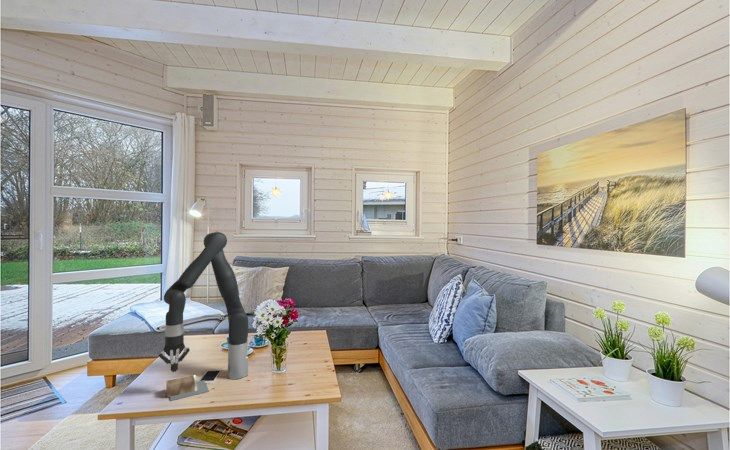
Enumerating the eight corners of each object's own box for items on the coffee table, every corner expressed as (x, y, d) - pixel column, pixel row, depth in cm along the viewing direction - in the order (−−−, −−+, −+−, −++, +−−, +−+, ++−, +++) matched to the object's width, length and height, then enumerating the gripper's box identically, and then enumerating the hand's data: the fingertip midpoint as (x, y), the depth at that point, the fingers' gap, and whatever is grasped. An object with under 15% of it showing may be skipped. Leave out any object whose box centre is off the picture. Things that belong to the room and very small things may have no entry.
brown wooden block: (166, 391, 154) (195, 385, 161) (167, 397, 149) (197, 390, 156) (166, 380, 154) (195, 374, 161) (167, 386, 149) (197, 379, 156)
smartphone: (197, 385, 163) (197, 383, 163) (208, 371, 178) (208, 369, 178) (212, 384, 164) (212, 382, 164) (222, 370, 179) (222, 368, 179)
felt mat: (204, 380, 166) (204, 379, 166) (208, 391, 155) (208, 390, 155) (168, 388, 158) (168, 387, 158) (170, 401, 147) (170, 400, 147)
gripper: (189, 328, 160) (189, 365, 160) (157, 333, 153) (157, 371, 153) (191, 333, 154) (191, 370, 154) (157, 338, 146) (157, 377, 146)
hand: (174, 371), depth 153 cm, fingers closed
